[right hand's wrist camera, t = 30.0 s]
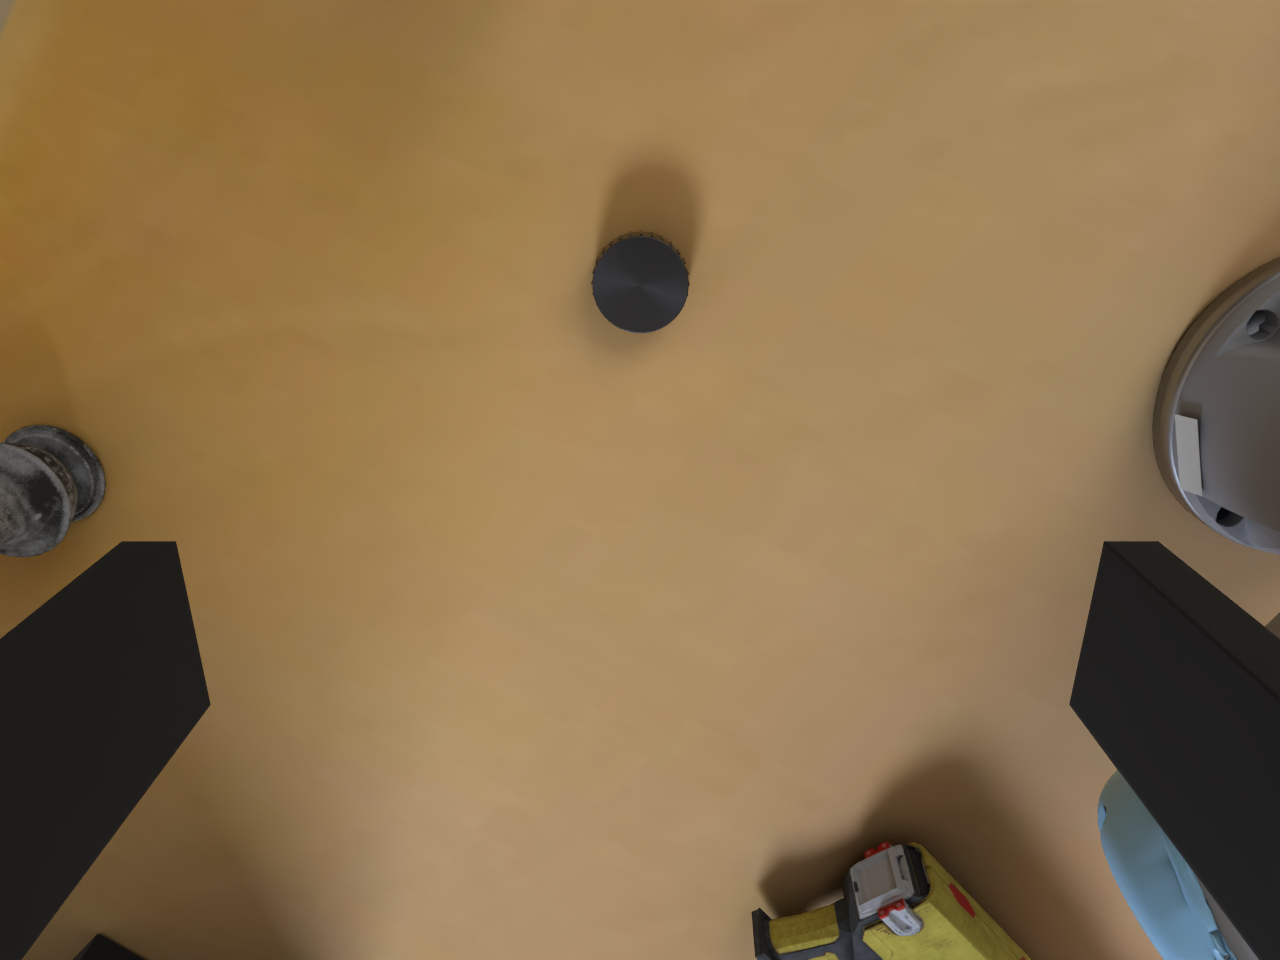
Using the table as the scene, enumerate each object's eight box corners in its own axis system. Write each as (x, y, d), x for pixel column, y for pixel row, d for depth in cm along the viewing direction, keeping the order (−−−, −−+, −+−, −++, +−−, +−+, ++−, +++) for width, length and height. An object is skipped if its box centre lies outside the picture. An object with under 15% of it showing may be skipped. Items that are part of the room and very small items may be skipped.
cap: (699, 308, 43) (702, 316, 41) (611, 338, 43) (610, 347, 41) (670, 217, 41) (672, 221, 39) (580, 248, 41) (577, 254, 40)
